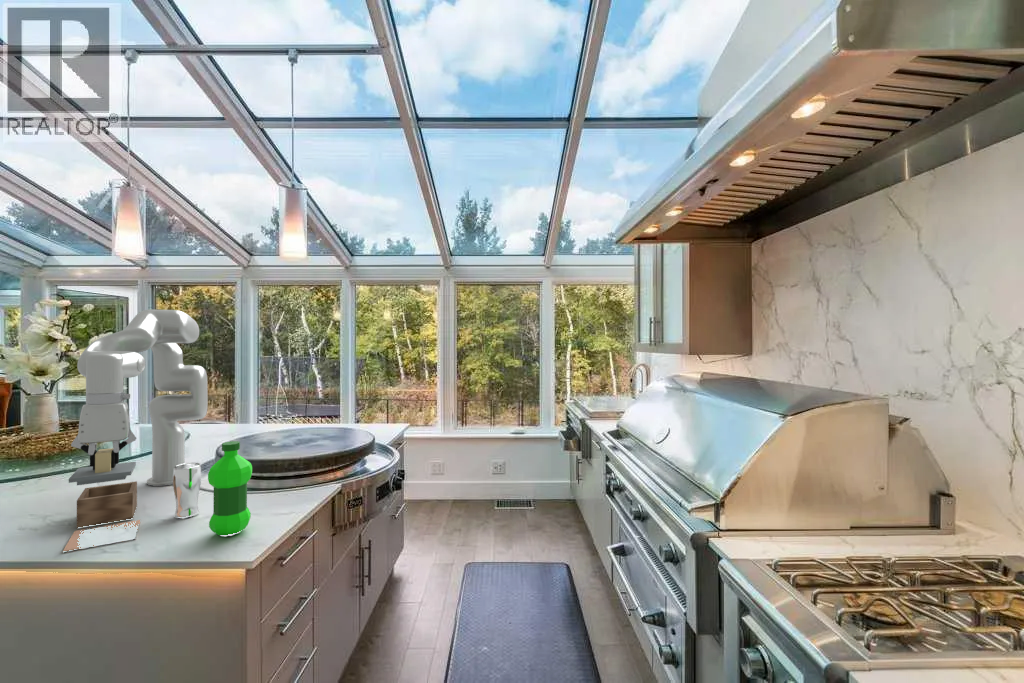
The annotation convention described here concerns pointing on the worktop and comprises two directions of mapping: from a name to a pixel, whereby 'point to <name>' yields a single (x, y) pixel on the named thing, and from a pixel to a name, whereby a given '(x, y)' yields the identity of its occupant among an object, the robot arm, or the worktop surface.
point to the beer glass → (186, 488)
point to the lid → (102, 470)
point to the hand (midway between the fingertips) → (104, 467)
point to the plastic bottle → (230, 491)
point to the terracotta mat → (73, 540)
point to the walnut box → (106, 504)
